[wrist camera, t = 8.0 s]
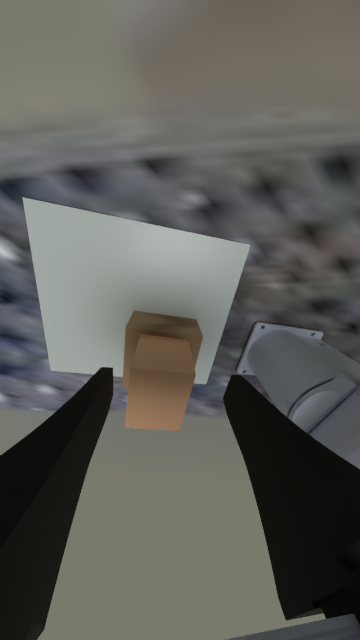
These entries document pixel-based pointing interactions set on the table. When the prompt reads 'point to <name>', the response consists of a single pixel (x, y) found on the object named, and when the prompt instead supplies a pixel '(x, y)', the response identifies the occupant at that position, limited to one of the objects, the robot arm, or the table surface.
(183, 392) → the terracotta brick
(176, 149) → the table surface
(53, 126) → the table surface
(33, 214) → the baseplate
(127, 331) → the walnut block
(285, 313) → the table surface
